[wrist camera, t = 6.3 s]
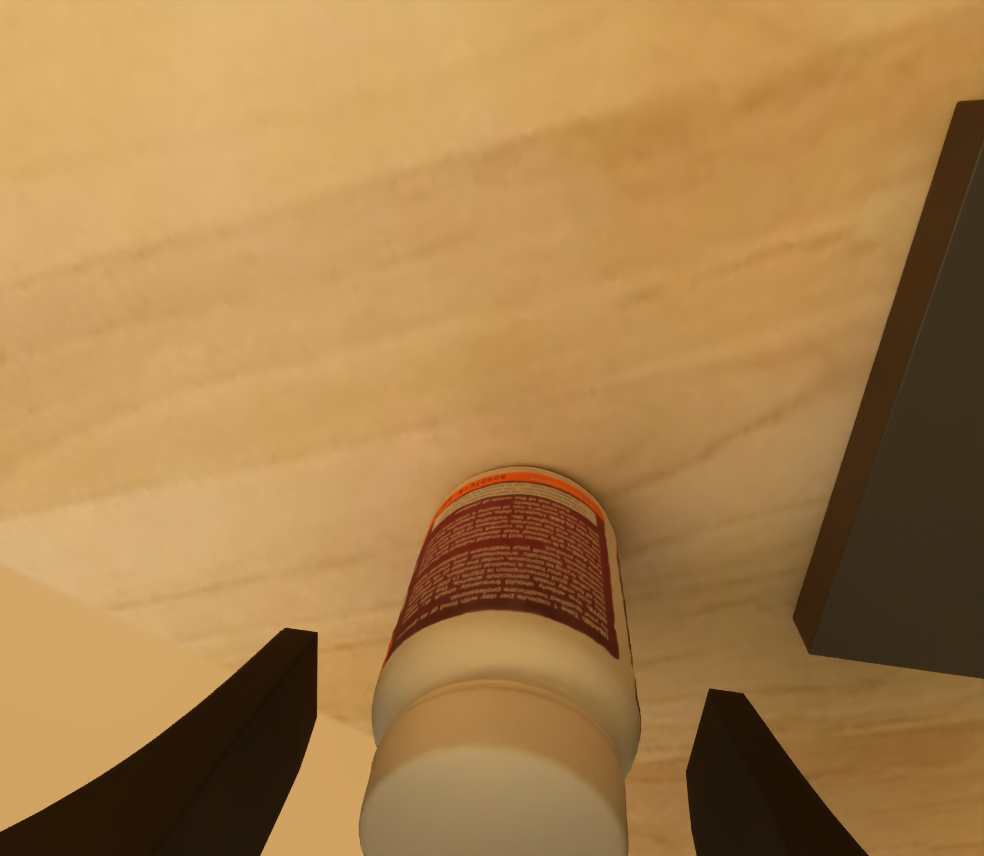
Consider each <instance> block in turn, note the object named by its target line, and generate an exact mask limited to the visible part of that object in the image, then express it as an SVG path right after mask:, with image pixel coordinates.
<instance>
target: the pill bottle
mask: <svg viewBox="0 0 984 856" xmlns="http://www.w3.org/2000/svg"><path fill="white" fill-rule="evenodd" d="M372 728H373V734H374V739H375V744H376V747H377V750H376V752H375V755H374V759H373V762H372V767H371V774H370V777H369V781H368V785H367V789H366V793H365V796H364V800H363V804H362V808H361V814H360V820H359V838H360V845H361V848H362V852H363V854H364V856H628V827H627V813H626V795H625V782H624V779H625V778H626V776H627V774H628V772H629V770H630V769H631V766H632V764H633V761H634V758H635V755H636V752H637V748H638V744H639V740H640V734H641V715H640V707H639V703H638V699H637V689H636V680H635V676H634V671H633V658H632V652H631V644H630V637H629V631H628V625H627V615H626V607H625V599H624V594H623V586H622V579H621V573H620V562H619V556H618V549H617V542H616V538H615V534H614V531H613V528H612V526H611V523H610V521H609V519H608V517H607V515H606V513H605V511H604V510H603V508H602V507H601V505H600V504H599V502H598V501H597V500H596V499H595V498H594V497H593V496H592V495H591V494H590V493H589V492H587V491H586V490H585V489H584V488H582V487H581V486H579V485H578V484H576V483H575V482H573V481H572V480H570V479H568V478H566V477H564V476H562V475H559V474H556V473H554V472H551V471H547V470H543V469H540V468H535V467H515V466H513V467H506V468H499V469H495V470H491V471H487V472H484V473H481V474H478V475H476V476H474V477H471V478H469V479H467V480H465V481H464V482H463V483H461V484H460V485H459V486H457V487H456V488H455V489H453V490H452V491H451V492H450V493H449V494H448V495H447V496H446V497H445V498H444V500H443V501H442V502H441V504H440V505H439V507H438V508H437V510H436V512H435V514H434V516H433V518H432V520H431V523H430V526H429V528H428V532H427V534H426V537H425V540H424V543H423V546H422V549H421V552H420V554H419V557H418V559H417V562H416V566H415V569H414V573H413V576H412V579H411V582H410V585H409V587H408V590H407V594H406V596H405V599H404V603H403V606H402V609H401V612H400V615H399V619H398V623H397V625H396V628H395V629H394V631H393V636H392V639H391V642H390V644H389V647H388V652H387V656H386V658H385V660H384V663H383V666H382V669H381V672H380V675H379V678H378V682H377V685H376V688H375V692H374V698H373V704H372Z"/></svg>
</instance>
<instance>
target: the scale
mask: <svg viewBox="0 0 984 856" xmlns="http://www.w3.org/2000/svg"><path fill="white" fill-rule="evenodd" d="M793 620H794V622H795V625H796V627H797V629H798V631H799V633H800V635H801V638H802V640H803V642H804V644H805V646H806V648H807V650H808V653H809V654H811V655H819V656H826V657H833V658H840V659H847V660H854V661H861V662H868V663H875V664H882V665H889V666H897V667H904V668H911V669H918V670H925V671H932V672H939V673H946V674H953V675H960V676H968V677H975V678H982V679H984V100H971V101H960V102H958V103H957V106H956V109H955V112H954V115H953V118H952V121H951V124H950V128H949V131H948V134H947V137H946V140H945V143H944V146H943V149H942V153H941V156H940V159H939V162H938V165H937V168H936V171H935V174H934V178H933V181H932V184H931V187H930V190H929V193H928V196H927V199H926V203H925V206H924V209H923V212H922V215H921V218H920V221H919V224H918V228H917V231H916V234H915V237H914V240H913V243H912V246H911V249H910V253H909V256H908V259H907V262H906V265H905V268H904V271H903V274H902V278H901V281H900V284H899V287H898V290H897V293H896V296H895V299H894V303H893V306H892V309H891V312H890V315H889V318H888V321H887V324H886V328H885V331H884V334H883V337H882V340H881V343H880V346H879V349H878V353H877V356H876V359H875V362H874V365H873V368H872V371H871V374H870V377H869V381H868V384H867V387H866V390H865V393H864V396H863V399H862V402H861V406H860V409H859V412H858V415H857V418H856V421H855V424H854V427H853V431H852V434H851V437H850V440H849V443H848V446H847V449H846V452H845V456H844V459H843V462H842V465H841V468H840V471H839V474H838V477H837V481H836V484H835V487H834V490H833V493H832V496H831V499H830V502H829V506H828V509H827V512H826V515H825V518H824V521H823V524H822V527H821V531H820V534H819V537H818V540H817V543H816V546H815V549H814V552H813V556H812V559H811V562H810V565H809V568H808V571H807V574H806V577H805V581H804V584H803V587H802V590H801V593H800V596H799V599H798V602H797V606H796V609H795V612H794V615H793Z"/></svg>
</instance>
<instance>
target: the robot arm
mask: <svg viewBox="0 0 984 856" xmlns="http://www.w3.org/2000/svg"><path fill="white" fill-rule="evenodd" d="M317 648H318V632H312V631H305V630H298V629H291V628H284V629H283V630H282V631H280V632H279V633H278V634H277V635H276V636H275V637H274V638H273V639H271V640H270V641H269V642H268V643H267V644H266V645H265V646H264V647H263V648H262V649H261V650H260V651H259V652H258V653H256V654H255V655H254V656H253V657H252V658H251V659H250V660H249V661H248V662H247V663H246V664H244V665H243V666H242V667H241V668H240V669H239V670H238V671H237V672H236V673H234V674H233V675H232V676H231V677H230V678H229V679H228V680H227V681H225V682H224V683H223V684H222V685H221V686H220V687H218V688H217V689H216V690H215V691H214V692H213V693H211V695H209V696H208V697H207V698H206V699H204V700H203V701H202V702H201V703H200V704H198V705H197V706H196V707H195V708H193V709H192V710H191V711H190V712H188V713H187V714H186V715H185V716H183V717H182V718H181V719H179V720H178V721H177V722H176V723H175V724H173V725H172V726H170V727H169V728H168V729H167V730H165V731H164V732H163V733H161V734H160V735H159V736H157V738H155V739H153V740H152V741H151V742H149V743H148V744H147V745H145V746H144V747H143V748H141V749H140V750H138V751H137V752H135V753H134V754H132V755H131V756H130V757H128V758H127V759H125V760H124V761H122V762H121V763H119V764H118V765H116V766H115V767H113V768H112V769H110V770H109V771H107V772H106V773H104V774H102V775H101V776H99V777H98V778H96V779H94V780H93V781H91V782H89V783H88V784H86V785H85V786H83V787H81V788H80V789H78V790H76V791H75V792H73V793H71V794H69V795H67V796H66V797H64V798H62V799H61V800H59V801H57V802H55V803H54V804H52V805H50V806H48V807H47V808H45V809H43V810H42V811H40V812H38V813H36V814H34V815H32V816H30V817H29V818H26V819H25V820H22V821H21V822H19V823H17V824H15V825H13V826H11V827H9V828H7V829H5V830H3V831H1V832H0V856H260V855H261V853H262V851H263V849H264V846H265V844H266V842H267V840H268V837H269V835H270V833H271V831H272V829H273V827H274V825H275V823H276V820H277V818H278V816H279V814H280V812H281V809H282V807H283V805H284V803H285V801H286V799H287V796H288V794H289V792H290V790H291V787H292V785H293V783H294V781H295V779H296V776H297V774H298V772H299V769H300V767H301V764H302V761H303V758H304V755H305V752H306V749H307V746H308V743H309V740H310V737H311V734H312V731H313V727H314V724H315V721H316V718H317ZM686 779H687V790H688V802H689V811H690V820H691V830H692V835H693V840H694V845H695V849H696V854H697V856H869V855H868V854H867V853H866V852H865V851H864V850H863V849H862V848H861V847H860V845H859V844H858V843H857V842H856V841H855V839H854V838H853V837H852V836H851V835H850V834H849V832H848V831H847V830H846V829H845V828H844V827H843V825H842V824H841V823H840V822H839V821H838V819H837V818H836V817H835V816H834V815H833V813H832V812H831V811H830V810H829V808H828V807H827V806H826V805H825V804H824V802H823V801H822V800H821V798H820V797H819V796H818V794H817V793H816V792H815V791H814V789H813V788H812V787H811V785H810V784H809V783H808V781H807V780H806V779H805V778H804V776H803V775H802V774H801V772H800V771H799V770H798V768H797V767H796V766H795V764H794V763H793V762H792V760H791V759H790V758H789V756H788V755H787V753H786V752H785V751H784V749H783V748H782V746H781V745H780V744H779V742H778V741H777V740H776V738H775V737H774V735H773V734H772V733H771V731H770V730H769V728H768V727H767V725H766V724H765V723H764V721H763V720H762V718H761V717H760V716H759V714H758V713H757V711H756V710H755V709H754V707H753V706H752V704H751V703H750V702H749V700H748V699H747V698H746V696H745V695H744V694H743V693H737V692H730V691H723V690H716V689H709V691H708V695H707V698H706V702H705V706H704V709H703V713H702V716H701V720H700V723H699V727H698V731H697V734H696V738H695V741H694V745H693V748H692V752H691V756H690V759H689V763H688V766H687V770H686Z"/></svg>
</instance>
